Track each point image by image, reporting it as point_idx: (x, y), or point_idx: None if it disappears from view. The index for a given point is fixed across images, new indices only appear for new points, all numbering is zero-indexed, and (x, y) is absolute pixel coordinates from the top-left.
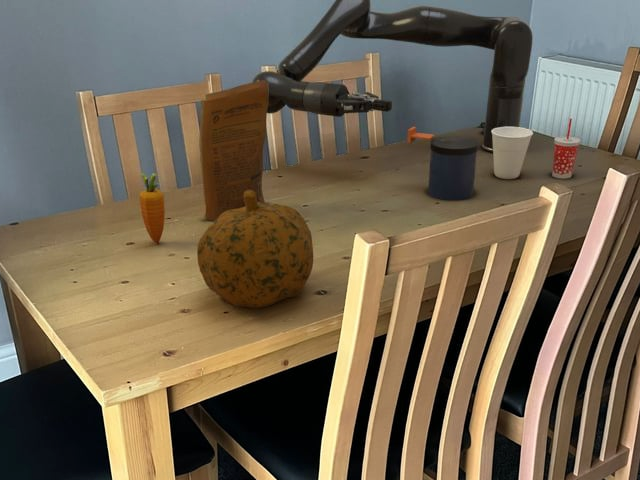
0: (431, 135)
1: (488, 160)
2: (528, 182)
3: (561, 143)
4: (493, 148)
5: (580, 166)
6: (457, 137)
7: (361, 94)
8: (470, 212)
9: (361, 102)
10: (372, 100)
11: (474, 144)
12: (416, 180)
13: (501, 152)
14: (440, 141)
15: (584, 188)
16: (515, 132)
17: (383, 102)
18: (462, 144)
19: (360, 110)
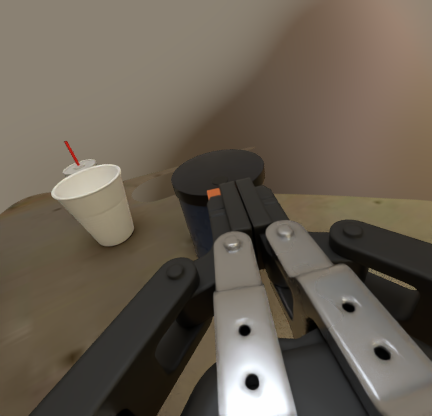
0: (216, 190)
1: (32, 288)
2: (137, 211)
3: (93, 165)
4: (106, 212)
5: (58, 208)
6: (182, 180)
7: (243, 385)
8: (281, 195)
9: (416, 240)
10: (296, 223)
11: (210, 154)
12: None
13: (123, 200)
14: (228, 179)
15: (138, 180)
16: (60, 194)
17: (257, 195)
18: (222, 159)
19: (403, 290)
